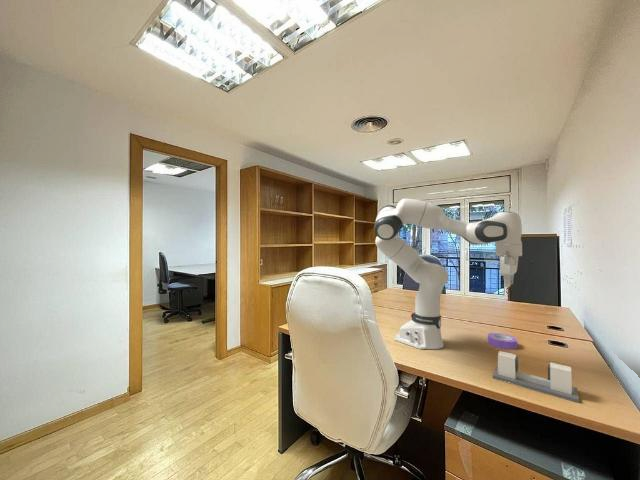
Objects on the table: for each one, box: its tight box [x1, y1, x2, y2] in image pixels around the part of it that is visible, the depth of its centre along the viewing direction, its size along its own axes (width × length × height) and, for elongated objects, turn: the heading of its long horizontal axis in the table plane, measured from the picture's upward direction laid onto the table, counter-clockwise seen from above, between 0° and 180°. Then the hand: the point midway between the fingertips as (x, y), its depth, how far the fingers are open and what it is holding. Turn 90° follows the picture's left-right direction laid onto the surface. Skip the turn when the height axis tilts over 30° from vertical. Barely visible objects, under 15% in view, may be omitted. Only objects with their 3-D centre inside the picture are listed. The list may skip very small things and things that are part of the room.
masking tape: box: [487, 332, 518, 350], centre depth 125 cm, size 12×12×4 cm
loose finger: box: [497, 350, 519, 379], centre depth 94 cm, size 6×4×7 cm
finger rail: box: [492, 361, 580, 404], centre depth 90 cm, size 22×9×8 cm, turn 48°
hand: (508, 285), depth 106 cm, fingers open, 8 cm apart
